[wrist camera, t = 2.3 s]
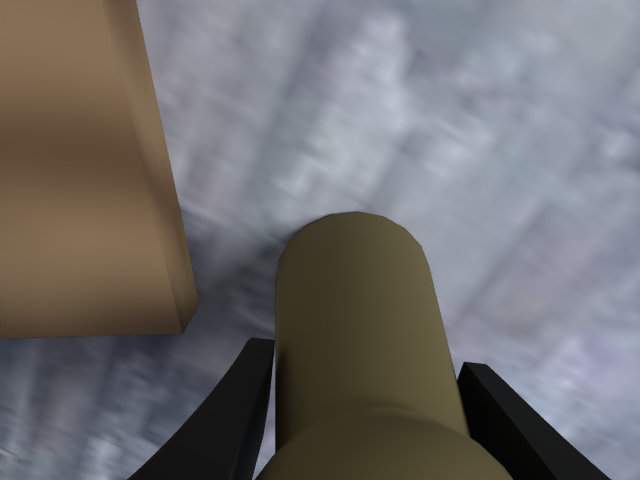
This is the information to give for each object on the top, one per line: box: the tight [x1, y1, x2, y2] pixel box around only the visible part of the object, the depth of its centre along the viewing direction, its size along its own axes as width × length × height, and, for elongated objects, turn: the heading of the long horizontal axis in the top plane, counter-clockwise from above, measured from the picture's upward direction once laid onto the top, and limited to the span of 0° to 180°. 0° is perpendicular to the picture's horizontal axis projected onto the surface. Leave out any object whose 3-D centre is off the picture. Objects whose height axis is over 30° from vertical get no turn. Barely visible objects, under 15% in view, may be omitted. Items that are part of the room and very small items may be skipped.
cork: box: [255, 212, 513, 480], centre depth 10 cm, size 6×6×11 cm
